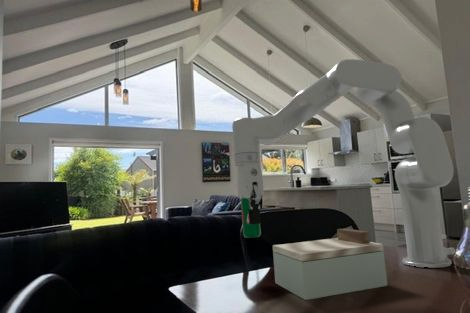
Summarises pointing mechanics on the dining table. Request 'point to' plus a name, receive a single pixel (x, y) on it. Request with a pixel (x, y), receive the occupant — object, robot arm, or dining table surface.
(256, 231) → the soda can
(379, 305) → the dining table surface
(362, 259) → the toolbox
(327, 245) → the lid
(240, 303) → the dining table surface
